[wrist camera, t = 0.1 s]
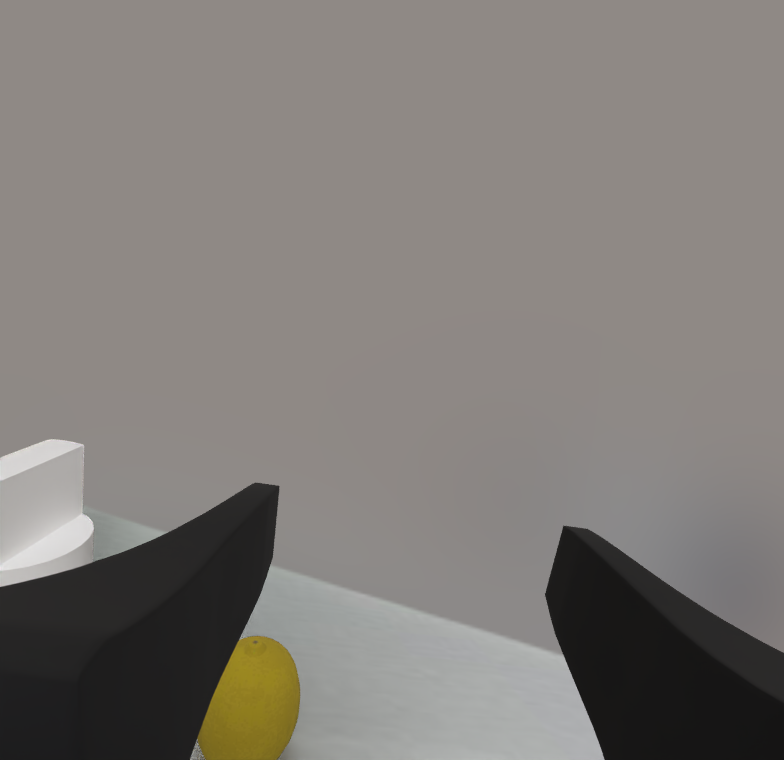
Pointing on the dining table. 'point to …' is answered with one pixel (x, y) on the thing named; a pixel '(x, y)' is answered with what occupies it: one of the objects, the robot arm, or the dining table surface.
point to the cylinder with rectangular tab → (43, 512)
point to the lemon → (252, 704)
